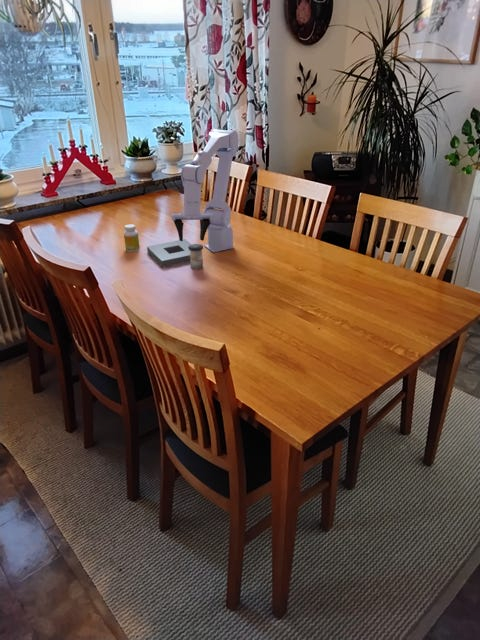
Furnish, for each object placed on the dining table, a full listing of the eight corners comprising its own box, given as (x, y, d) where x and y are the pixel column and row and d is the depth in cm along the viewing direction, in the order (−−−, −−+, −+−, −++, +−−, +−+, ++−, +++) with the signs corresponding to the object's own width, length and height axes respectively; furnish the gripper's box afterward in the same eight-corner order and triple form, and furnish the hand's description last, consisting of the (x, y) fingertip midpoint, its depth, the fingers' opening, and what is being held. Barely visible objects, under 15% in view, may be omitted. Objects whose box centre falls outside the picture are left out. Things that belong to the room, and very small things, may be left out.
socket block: (185, 244, 193) (185, 239, 192) (202, 258, 181) (201, 252, 180) (147, 252, 187) (146, 246, 185) (162, 267, 175) (161, 260, 173)
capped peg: (200, 263, 178) (199, 242, 174) (206, 268, 174) (205, 247, 170) (187, 266, 176) (186, 245, 172) (193, 271, 172) (192, 250, 168)
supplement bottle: (136, 252, 187) (133, 228, 182) (123, 251, 188) (120, 227, 183) (141, 247, 191) (139, 224, 186) (129, 246, 192) (126, 223, 187)
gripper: (174, 203, 158) (174, 243, 164) (216, 203, 164) (214, 242, 169) (169, 199, 164) (169, 238, 170) (209, 199, 170) (208, 237, 175)
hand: (191, 240), depth 170 cm, fingers open, 7 cm apart
